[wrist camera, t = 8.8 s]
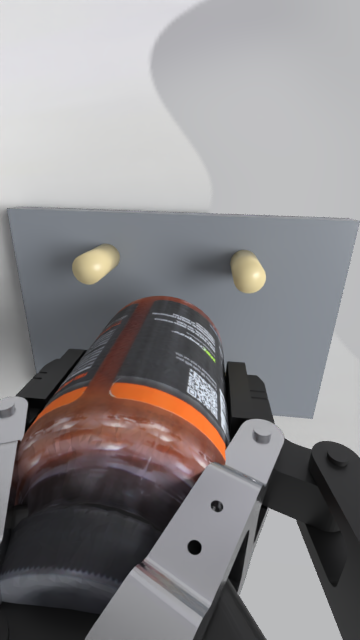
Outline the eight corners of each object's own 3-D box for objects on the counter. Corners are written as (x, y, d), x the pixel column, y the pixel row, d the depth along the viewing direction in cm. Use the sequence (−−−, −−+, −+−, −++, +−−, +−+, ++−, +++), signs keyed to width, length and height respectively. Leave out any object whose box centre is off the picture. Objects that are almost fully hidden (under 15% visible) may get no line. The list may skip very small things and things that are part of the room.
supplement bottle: (98, 379, 17) (-83, 676, 7) (118, 276, 15) (-116, 487, 4) (204, 409, 17) (188, 750, 7) (241, 311, 15) (304, 604, 4)
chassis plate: (22, 206, 18) (-35, 212, 14) (347, 218, 17) (392, 228, 12) (50, 382, 23) (14, 425, 19) (306, 403, 21) (328, 455, 17)
